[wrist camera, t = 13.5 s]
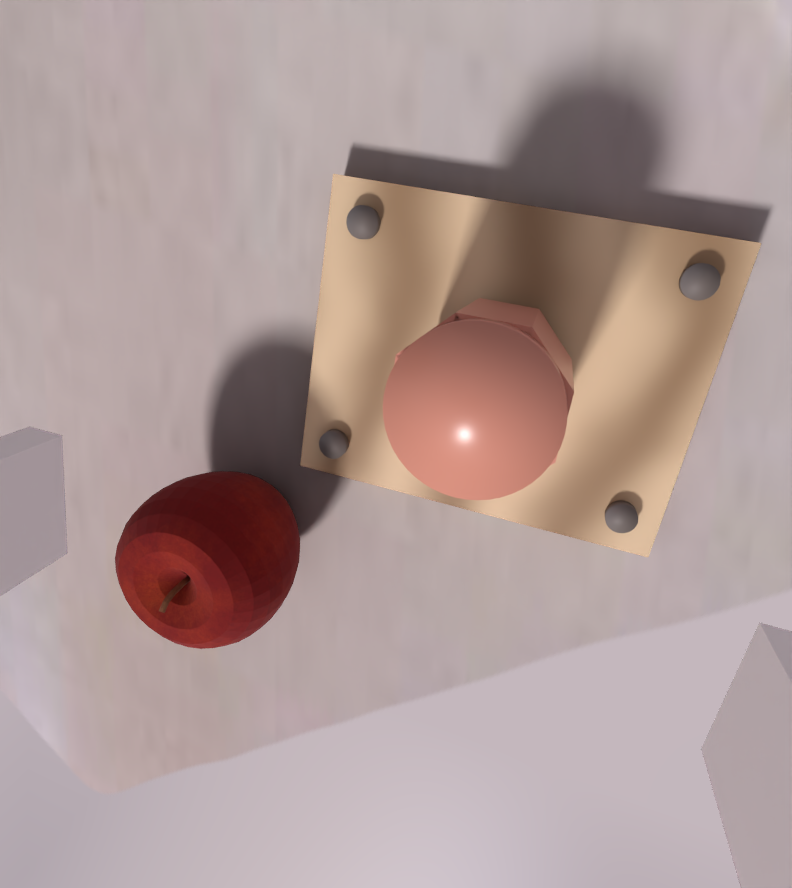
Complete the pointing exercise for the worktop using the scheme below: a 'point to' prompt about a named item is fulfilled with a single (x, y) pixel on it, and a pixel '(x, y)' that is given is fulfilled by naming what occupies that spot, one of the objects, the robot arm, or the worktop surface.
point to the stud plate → (570, 316)
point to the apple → (209, 558)
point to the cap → (480, 401)
